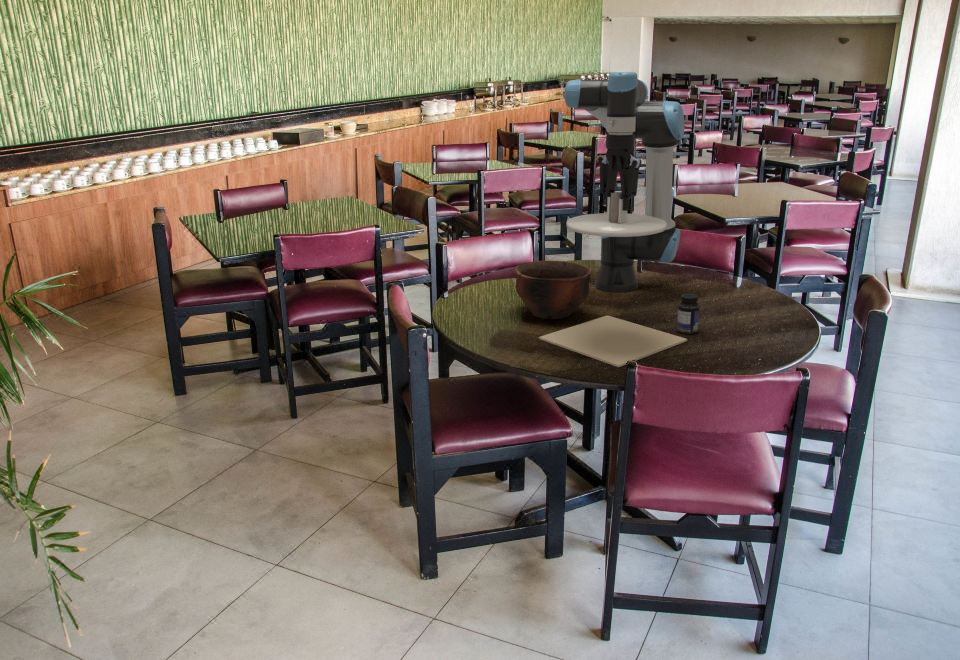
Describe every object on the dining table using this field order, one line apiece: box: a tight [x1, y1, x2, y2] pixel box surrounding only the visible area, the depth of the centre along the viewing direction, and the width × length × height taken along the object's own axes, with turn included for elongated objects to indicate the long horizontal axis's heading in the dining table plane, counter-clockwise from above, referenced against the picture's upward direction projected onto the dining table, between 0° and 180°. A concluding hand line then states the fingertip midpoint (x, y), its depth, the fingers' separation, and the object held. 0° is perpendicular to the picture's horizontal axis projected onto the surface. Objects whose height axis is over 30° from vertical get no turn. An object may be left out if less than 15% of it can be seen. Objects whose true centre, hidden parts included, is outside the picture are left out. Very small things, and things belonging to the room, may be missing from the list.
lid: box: [566, 191, 667, 237], centre depth 208 cm, size 27×27×9 cm
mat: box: [538, 315, 688, 368], centre depth 221 cm, size 30×30×1 cm
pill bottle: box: [676, 293, 700, 335], centre depth 225 cm, size 6×6×11 cm
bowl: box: [514, 260, 593, 320], centre depth 242 cm, size 25×25×15 cm
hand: (616, 221), depth 210 cm, fingers closed on lid, 3 cm apart
